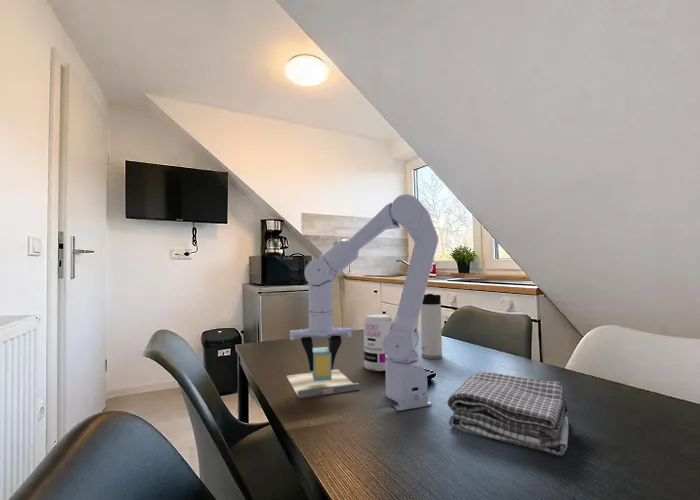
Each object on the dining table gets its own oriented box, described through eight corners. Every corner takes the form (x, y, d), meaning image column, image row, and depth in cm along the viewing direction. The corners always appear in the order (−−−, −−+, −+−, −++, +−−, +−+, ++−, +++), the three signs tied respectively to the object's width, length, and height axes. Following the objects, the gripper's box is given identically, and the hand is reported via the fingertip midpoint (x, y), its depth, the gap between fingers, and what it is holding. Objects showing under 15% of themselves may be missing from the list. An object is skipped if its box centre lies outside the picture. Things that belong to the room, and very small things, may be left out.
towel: (471, 402, 75) (470, 365, 75) (572, 424, 64) (571, 381, 64) (446, 431, 62) (445, 386, 63) (566, 464, 52) (564, 410, 52)
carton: (327, 371, 86) (327, 347, 86) (331, 379, 80) (331, 353, 80) (311, 372, 85) (311, 347, 85) (313, 381, 79) (313, 354, 79)
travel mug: (420, 358, 108) (419, 293, 109) (422, 353, 114) (421, 292, 115) (441, 360, 106) (440, 294, 107) (442, 354, 112) (441, 292, 113)
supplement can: (393, 365, 101) (392, 313, 102) (394, 374, 93) (393, 318, 93) (365, 365, 102) (364, 313, 102) (363, 374, 94) (362, 317, 94)
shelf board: (359, 393, 80) (359, 384, 80) (299, 402, 75) (299, 392, 75) (337, 373, 95) (337, 364, 95) (286, 379, 90) (286, 370, 90)
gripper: (290, 314, 78) (290, 376, 77) (354, 312, 81) (354, 371, 80) (289, 310, 85) (289, 367, 84) (348, 308, 87) (348, 363, 87)
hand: (321, 368), depth 83 cm, fingers closed on carton, 4 cm apart
